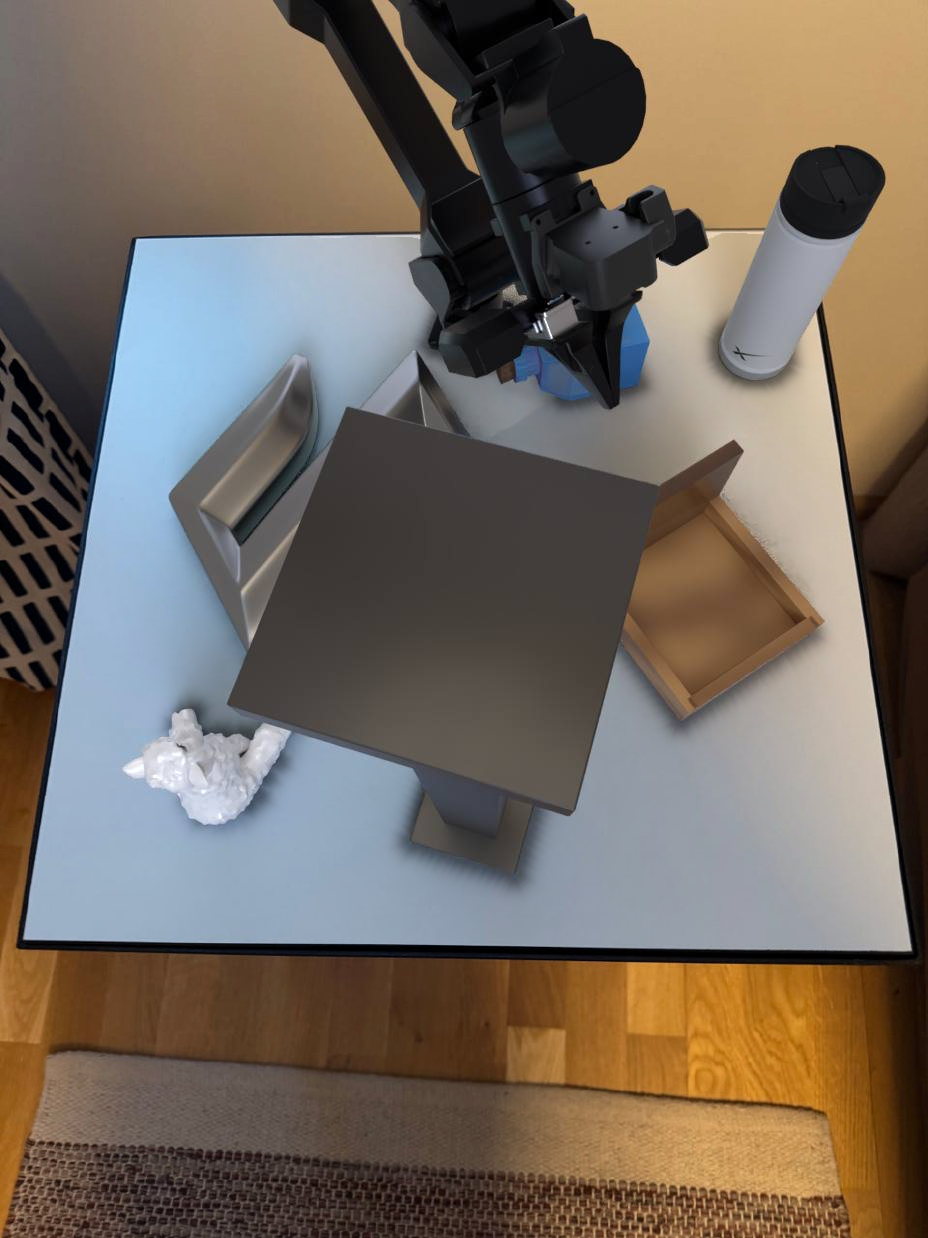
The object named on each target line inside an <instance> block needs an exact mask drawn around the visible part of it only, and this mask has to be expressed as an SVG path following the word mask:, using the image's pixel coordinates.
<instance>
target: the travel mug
mask: <svg viewBox="0 0 928 1238" xmlns="http://www.w3.org/2000/svg"><path fill="white" fill-rule="evenodd" d="M886 180H887V177H886V172H885V170H884V167H883V165H882V164H881V162H879V160H878V159H877V158H876V157H875V156H873V155H872V154H871V153H869V152H867V151H865V150H863V149H861V148H858V147H856V146H852V145H849V144H834V146H830V145H829V146H821V147H817V148H816V147H815V148H813V149H807V150H806V151H804V152H801V153H799V155H797V157H796V158H795V159H794V161H793V163H792V165H791V167H790V170H789V173H788V175H787V177H786V180H785V183H784V184H783V187H782V188H781V190H780V193H779V194H778V197H777V199H776V202H775V204H774V207H773V210H772V211H771V214H770V216H769V219H768V222H767V224H766V227H765V228H764V232H763V234H762V236H761V239H760V241H759V244H758V246H757V248H756V251H755V254H754V255H753V258H752V260H751V263H750V266H749V268H748V270H747V273H746V275H745V277H744V280H743V283H742V285H741V287H740V289H739V292H738V295H737V297H736V299H735V302H734V304H733V306H732V309H731V312H730V314H729V317H728V319H727V321H726V324H725V326H724V329H723V331H722V334H721V335H720V339H719V342H718V353H719V354H718V355H719V357H720V359H721V362H722V363H723V364H724V366H725V367H726V368H727V369H728V370H729V371H730V372H731V373H732V374H734V375H735V376H737V377H740V378H742V379H745V380H750V381H763V380H767V379H771V378H774V377H775V376H778V375H779V374H781V372H783V370H784V369H785V368H786V367H787V365H788V363H789V361H790V359H791V358H792V356H793V354H794V353H795V350H796V349H797V347H798V345H799V343H800V341H801V339H802V338H803V336H804V334H805V333H806V331H807V329H808V327H809V325H810V323H811V322H812V320H813V318H814V316H815V314H816V312H817V311H818V309H819V307H820V306H821V304H822V302H823V300H824V298H825V296H826V294H827V292H828V291H829V289H830V288H831V285H832V283H833V282H834V280H835V278H836V276H837V275H838V272H839V271H840V270H841V268H842V266H843V264H844V261H845V260H846V258H847V257H848V255H849V253H850V252H851V250H852V247H853V246H854V244H855V242H856V240H857V238H858V237H859V235H860V233H861V231H862V229H863V228H864V226H865V224H866V222H867V220H868V218H869V215H870V213H871V212H872V210H873V209H874V206H875V205H876V203H877V201H878V199H879V197H880V195H881V193H882V192H883V190H884V188H885V186H886V182H887V181H886Z"/></svg>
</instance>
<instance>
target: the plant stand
mask: <svg viewBox="0 0 928 1238" xmlns="http://www.w3.org/2000/svg"><path fill="white" fill-rule="evenodd" d="M333 437H334V439H333V438H332V439H333V441H332V444H331V446H330V449H329V451H328V454H327V456H326V459H325V461H324V464H323V466H322V469H321V471H320V474H319V476H318V479H317V481H316V484H315V486H314V489H313V491H312V493H311V496H310V498H309V501H308V503H307V506H306V508H305V511H304V513H303V516H302V518H301V521H300V523H299V526H298V528H297V531H296V533H295V536H294V538H293V541H292V543H291V546H290V548H289V550H288V553H287V555H286V558H285V560H284V563H283V565H282V568H281V570H280V573H279V575H278V578H277V580H276V583H275V585H274V588H273V590H272V593H271V595H270V598H269V600H268V603H267V605H266V608H265V610H264V612H263V615H262V617H261V620H260V622H259V625H258V627H257V630H256V632H255V635H254V637H253V640H252V642H251V645H250V647H249V650H248V652H247V651H246V655H245V657H244V660H243V662H242V664H241V667H240V670H239V672H238V674H237V677H236V680H235V682H234V684H233V687H232V689H231V692H230V694H229V697H228V700H227V702H226V705H227V706H228V707H229V708H230V709H232V711H234V712H235V713H237V714H238V715H240V716H242V718H247V719H249V720H253V721H255V722H259V723H262V724H263V723H266V724H269V725H272V726H276V727H279V728H282V729H285V730H289V731H292V733H295V734H299V735H301V736H305V737H308V738H312V739H315V740H318V741H322V742H325V743H328V744H331V745H334V746H338V747H340V748H344V749H348V750H351V751H355V752H358V753H360V754H364V755H366V756H370V757H374V758H377V759H380V760H383V761H385V762H386V761H387V762H390V763H392V764H396V765H399V766H402V767H406V768H409V769H412V770H413V772H414V773H415V775H416V777H417V779H418V780H419V782H420V784H421V785H422V787H423V789H424V793H423V797H422V800H421V804H420V807H419V810H418V813H417V816H416V819H415V821H414V825H413V828H412V832H411V835H410V838H409V842H410V843H411V844H414V845H416V846H417V845H418V846H419V847H424V848H427V849H430V850H433V851H436V852H440V853H443V854H444V855H445V854H446V855H449V856H451V857H455V858H458V859H461V860H464V861H467V862H470V863H471V862H472V863H474V864H478V865H480V866H483V867H485V868H486V867H487V868H490V869H492V870H496V871H499V872H502V873H505V874H508V875H511V876H515V875H516V871H517V868H518V864H519V862H520V857H521V854H522V850H523V846H524V843H525V839H526V836H527V831H528V829H529V825H530V821H531V817H532V814H533V810H534V807H537V808H540V809H543V810H546V811H549V812H552V813H556V814H559V815H563V816H565V817H571V816H572V815H573V814H574V812H576V810H577V807H578V803H579V798H580V796H581V791H582V788H583V784H584V780H585V775H586V771H587V768H588V764H589V760H590V757H591V754H592V753H591V752H592V749H593V745H594V742H595V737H596V735H597V730H598V726H599V723H600V718H601V715H602V710H603V707H604V703H605V698H606V696H607V691H608V687H609V683H610V680H611V676H612V672H613V668H614V664H615V661H616V656H617V653H618V649H619V645H620V643H621V642H620V638H621V634H622V630H623V626H624V622H625V619H626V615H627V611H628V607H629V603H630V599H631V596H632V592H633V588H634V584H635V580H636V576H637V572H638V569H639V565H640V561H641V557H642V553H643V549H644V546H645V542H646V538H647V534H648V530H649V526H650V523H651V519H652V515H653V511H654V507H655V503H656V500H657V496H658V492H659V488H660V487H659V485H658V484H655V483H651V482H647V481H643V480H639V479H635V478H631V477H627V476H623V475H621V474H620V475H619V474H617V473H616V474H615V473H613V472H608V471H603V470H600V469H596V468H592V467H588V466H584V465H580V464H576V463H572V462H568V461H564V460H561V459H557V458H553V457H549V456H546V455H541V454H537V453H533V452H529V451H525V450H522V449H517V448H513V447H510V446H506V445H502V444H498V443H494V442H491V441H487V440H482V439H478V438H474V437H472V436H471V437H467V436H463V435H459V434H455V433H451V432H447V431H443V430H439V429H435V428H432V427H428V426H424V425H420V424H416V423H412V422H408V421H404V420H400V419H396V418H392V417H388V416H384V415H380V414H377V413H373V412H369V411H365V410H361V409H359V408H357V407H353V406H348V405H347V406H346V407H345V409H344V412H343V414H342V417H341V419H340V422H339V424H338V427H337V429H336V432H335V434H334V436H333Z"/></svg>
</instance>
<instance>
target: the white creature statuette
mask: <svg viewBox="0 0 928 1238" xmlns="http://www.w3.org/2000/svg"><path fill="white" fill-rule="evenodd" d="M254 732H255V733H254V735H253V739H249V738H248V737H246V736H244V735H242V734H241V733H233V734H231V735H230V736H228V737H227V736H224V733H222V732H219V733H213V732H210V733H208V734H206V735H204V732H203V727H202V725H201V724H199V722H198V718H197V715H196V712H195V710H194V709H193V708H185V709H181V710H180V711H179V713H178V712H176V711H175V712H173V713H172V715H171V728H170V729H169V730H168V735H169V736H159V737H157V738H155V739H153V740H151V741H149V742H147V743H145V744H143V747H142V748H141V750H140V753H141V755H142V756H140V757H137V758H135V759H132V760H130V761H129V762H127V763H125V764H124V765H123V767H122V771H123V773H125V774H126V775H128V776H129V777H130V778H132V779H135V780H140V779H145V781H146V783H147V785H149V787H151V788H152V789H156V788H159V789H164V790H167V791H169V792H170V793H172V794H176V795H177V796H178V798H179V800H180V805H181V807H182V808H183V809H184V810H185V812H186V814H187V816H188V819H190V820H195V821H197V822H198V823H201V824H202V825H203V826H206V825H207V826H208V825H213V826H218V825H224V824H226V823H227V822H228V821H230V820H235V819H237V817H238V816H239V814H240V813H242V812H244V811H245V810H246V808H247V807H248V806H249V805H250V803H251V801H253V799H254V795H255V794H257V793H258V791H259V789H260V788H261V787H260V786H261V785H262V784H263V780H264V779H265V777H266V776H268V775H269V772H270V771H271V769H272V767H273V765H275V764H276V762H277V760H278V758H279V757H280V756H281V751H282V750H283V749H285V748H286V745H287V740H288V739H289V737H290V736H291V735H292V733H293V732H292V731H289V730H285V729H282V728H279V727H276V726H272V725H269V724H266V723H263V722H262V724H260V726H259V727H258V728H257V729H255V731H254Z"/></svg>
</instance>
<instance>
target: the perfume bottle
mask: <svg viewBox="0 0 928 1238" xmlns="http://www.w3.org/2000/svg"><path fill="white" fill-rule="evenodd" d="M562 296H563V295H560V297H558V298H555V300H552V301H550V303H549V304H551V303H553V302H555V301H557V300H558V299H560V298H562ZM576 305H577V304H576ZM574 306H575V305H574ZM650 342H651V340H650V337H649V334H648V332H647V329H646V326H645V324H644V321H643V319H642V316H641V313H640V312H639V308H638V306H637V303H635V304H634V306H633V307H632V309H631V311H630V313H629V315H628V317H627V319H626V321H625V323H624V327H623V334H622V343H621V357H620V358H621V366H620V390H623V389H628V388H632V387H637V386H638V384H639V381H640V377H641V374H642V371H643V367H644V364H645V361H646V358H647V353H648V349H649V347H650ZM495 373H496V376H497V379H498V382H499V384H500V385H504V384H506V383H508V382H511V381H512V380H513V382H514V383H515V384H517V383H521V382H527V380H528V377H532V376H533V377H534V376H535V377H536V381H537V384H538V387H539V391H541V392H545V393H547V394H550V395H553V396H554V397H555V396H556V397H558V398H561V399H564V400H567V401H568V402H573V401H577V400H581V399H586V398H589V397H593V396H592V395H591V394H590V393H589V392H588V391H587V390H586V389H585V388H584V387H583V386H582V385H581V383H580V382H579V381H578V380H577V379H576V378H575V377H574V376H573V375H572V374H571V372H569V371H568V370H567V369H566V368H565V367H564V366H563V365H562V364H561V363H560V362H559V361H558V360H557V359H555V358H554V357H553V356H552V355H551V354H549V353H548V352H547V351H546V350H545V349H543V348H542V347H535V346H526V345H524V347H523V350H522V353H521V356H519V357H518V358H516V359H514V360H512V361H511V362H509V363H507V364H505V365H504V366H502V367H500V368H498V369H497V370H495Z"/></svg>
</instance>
